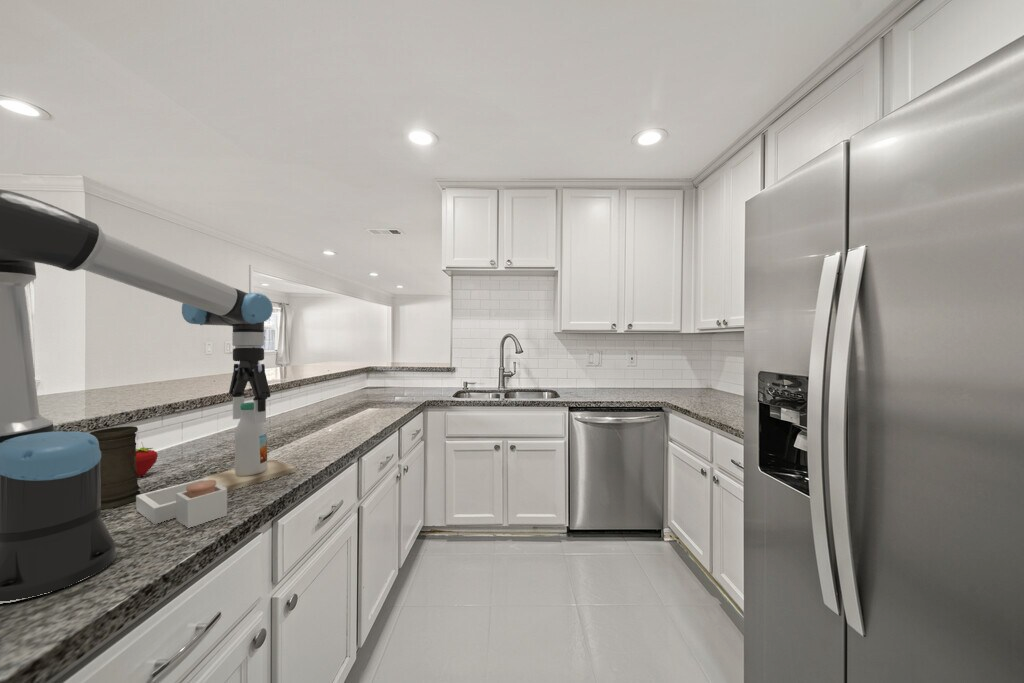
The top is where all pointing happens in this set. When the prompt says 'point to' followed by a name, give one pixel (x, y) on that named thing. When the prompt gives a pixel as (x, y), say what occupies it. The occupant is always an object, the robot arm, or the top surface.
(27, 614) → the top surface
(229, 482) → the ash board
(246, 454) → the milk bottle
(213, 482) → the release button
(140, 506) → the dock
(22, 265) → the robot arm
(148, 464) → the strawberry
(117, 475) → the container
